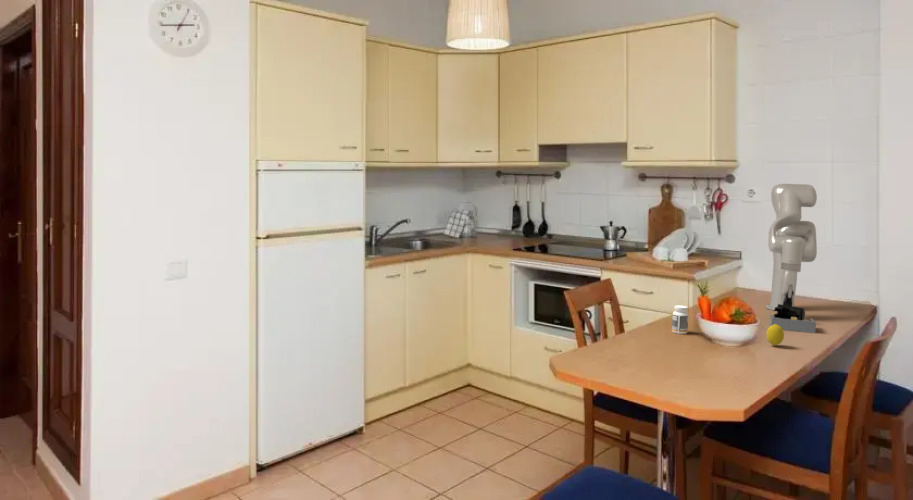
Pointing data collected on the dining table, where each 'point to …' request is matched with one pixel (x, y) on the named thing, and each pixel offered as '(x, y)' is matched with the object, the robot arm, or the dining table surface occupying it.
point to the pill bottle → (680, 320)
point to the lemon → (775, 334)
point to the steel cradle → (794, 324)
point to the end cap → (789, 312)
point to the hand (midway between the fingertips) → (786, 310)
